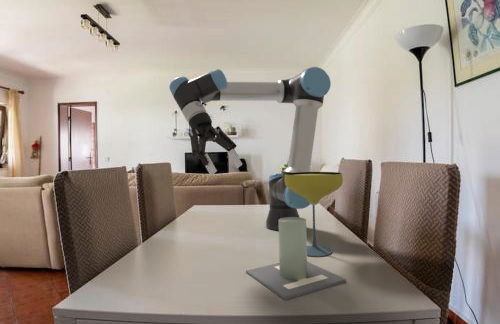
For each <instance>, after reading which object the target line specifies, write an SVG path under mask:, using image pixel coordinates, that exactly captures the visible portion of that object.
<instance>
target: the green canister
mask: <svg viewBox="0 0 500 324" xmlns="http://www.w3.org/2000/svg"><path fill="white" fill-rule="evenodd" d="M299 217H300V216H299ZM299 217H285V218H280V219H279V230H278V248H279V249H278V255H279V256H278V257H279V258H278V259H279V261H278V263H279V264H280V276H281V277H282V278H285V279H288V280H301V279H304V278H306V277H307V262H308V256H307V246H308V241H307V239H308V238H307V236H308V235H307V219H306V218H305V217H304V218H303V217H300V218H299Z"/></svg>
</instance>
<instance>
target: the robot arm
mask: <svg viewBox="0 0 500 324" xmlns="http://www.w3.org/2000/svg"><path fill="white" fill-rule="evenodd" d="M330 89H331V78H330V76H329V74H328V73H327V71H325V70H324V69H323V68H321V67H318V66H311V67H309V68H306V69H304V70H302V71H301V72H300V73H299V74H297V75H295V76H293V77H291V78H287V79H279V80H277V82H276V81H275V82H274V81H269V82H268V81H265V82H264V81H227V78H226V75H225V74H224V72H223V71H222V70H221V69H219V68H216V69H214V70H210V71H209V72H207V73H204V74H203V75H200V76H198V77H195V78H193V79H188V78H187V77H186V76H178V77H176V78H174V79H173V80H172V81H171V82H170V83H169V91H170V92H171V95H172V97H173V99H174V101H175V102H176V104H177V106H178V108H179V109H180V111H181V113H182V114H183V116H184V118H185V121H186V122H187V123H188V125H189V127H190V130H189V131H188V136H189V138H190V145H191V155H192V157H194V158H196V159H197V160H200V161H201V163H202V165H203V167H205V168H206V171H207V172H208V173H209V175H210V176H213V175H215V173H216V172H218V170H217V168H216V167H215V164H214V162H213V161H212V159H211V158H210V156H209V154H208V153H206V145H207V142H213V143H216V144H217V145H218V146H220V147H221V148H223V149H224V150H226V151H227V154H228V156H229V159H230V160H231V162H232V164H233V165H234V167H235V168H236V169H237V170H238V168H240V167H241V166H242V165H243V162H242V161H241V159H240V158H239V156H238V153H237V152H236V150H235V149H236V147H237V146H238V145H237V144H236V143H235V142H234V141H233V140H232V139H231V138H230V137H229V136H228V135H227V134H226V133H225V132H224V130H222V128H221V127H220V126H219V125H218V126H216V127H213V125H212V124H213V120H212V118H211V117H210V115H209V113H208V112H207V110H206V108H205V106H204V105H203V104H202V103H210V102H212V101H213V102H218V101H222V102H223V101H226V102H227V101H230V102H231V101H236V102H237V101H243V102H244V101H248V102H249V101H251V102H252V101H253V102H254V101H257V102H258V101H259V102H260V101H262V102H263V101H264V102H265V101H266V102H267V101H275V102H276V101H277V103H279V104H293V105H294V107H295V112H294V119H293V125H292V126H293V127H292V134H291V141H290V142H291V143H290V147H289V148H290V149H289V154H288V156H289V157H288V163H287V167H286V168H285V169H284V170H283V172H279V173H273V174H270V175H269V177H268V195H269V197H268V198H269V199H268V201H269V210H268V213H267V217H266V221H265V228H266V229H269V230H272V231H279V219H280V218H285V217H299V218H301V217H300V215H299V212H298V210H302V209H305V208H308V207H309V206H310V205H311V204H310V203H309V202H308V200H307V199H306V198H304V197H302V196H301V195H299V194H297V193H295V192H293V191H291V190H290V189H289V188H288V187H287V186H286V185H285V174H287V173H296V172H312V171H311V163H312V155H313V149H314V142H315V133H316V127H317V119H318V112H319V109H320V108H322V107H323V105H324V98H325V96H326V95H327V94H328V92H329V91H330Z"/></svg>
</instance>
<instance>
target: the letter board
mask: <svg viewBox="0 0 500 324" xmlns="http://www.w3.org/2000/svg"><path fill="white" fill-rule="evenodd" d="M245 274H247V275H248V276H250V277H251V278H252V279H254V280H255V281H257V282H258V283H260V284H261V285H263V286H264V287H265V288H267V289H268V290H270V291H271V292H273V293H274V294H276V295H277V296H278V297H280V298H282V300H284V301H286V300H290V299H294V298H297V297H300V296H303V295H306V294H307V295H308V294H311V293H313V292H317V291H320V290H323V289H326V288H329V287H333V286H337V285H339V284H343V283H347V279H346V278H344V277H343V276H340V275H337V274H336V273H334V272H331V271H329V270H327V269H324V268H322V267H320V266H318V265H315V264H313V263H311V262H310V261H307V277H306V278H304V279H301V280H288V279H285V278H282V277H281V276H280V264H279V262H278V263H274V264H273V263H272V264H268V265H264V266H259V267H255V268H251V269H248V270H247V269H246V270H245Z"/></svg>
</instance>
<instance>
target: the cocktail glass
mask: <svg viewBox="0 0 500 324" xmlns="http://www.w3.org/2000/svg"><path fill="white" fill-rule="evenodd" d="M343 180H344V179H343V173H341V172H334V171H311V172H296V173H287V174H285V185H286V186H287V187H288V188H289V189H290V190H291V191H293V192H295V193H297V194H299V195H301V196H302V197H304V198H306V199H307V200H308V202H309V203H310V205H311V206H312V242H311V243H312V244H311V245H307V257H312V258H313V257H314V258H321V257H327V256H330V255H331V254H332V253H333V251H332V249H331V248H329V247H326V246H321V245H318V244H317V239H316V218H315V217H316V214H315V213H316V210H315V206H317V205H318V204H319V202H320V201H321V199H323V198H325V197H326V196H328V195H331V194H332V193H335V192H336V191H337V190H339V189H340V188H341V186H342V185H343Z"/></svg>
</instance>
